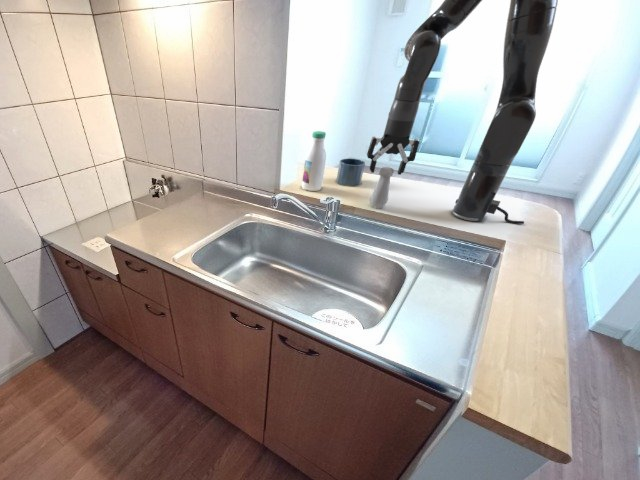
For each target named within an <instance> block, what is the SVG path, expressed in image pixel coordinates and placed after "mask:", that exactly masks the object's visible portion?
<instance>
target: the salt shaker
mask: <svg viewBox="0 0 640 480" xmlns="http://www.w3.org/2000/svg"><path fill="white" fill-rule="evenodd" d="M378 172H379V173H378V175H379V177H378V180H377V182H376V184H375V188H374V189H373V191H372V194H371V196H370V197H369V202H370V203H369V204H370V206H371V207H372V208H373V209H379V210H380V209H383V208H384V207H385V206H386V204H387V203H388V201H389V194H390V184H391V177H393V175H394V173H395V170H394V168H393V167H390V166H383V167H381V168H380V169H379V171H378Z"/></svg>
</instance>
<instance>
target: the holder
mask: <svg viewBox="0 0 640 480" xmlns="http://www.w3.org/2000/svg"><path fill="white" fill-rule="evenodd" d="M365 166H366V162H365V161H364V160H362V159H357V158H342V159H340V160H339V164H338V170H337V175H336V183H337V184H339V185H341V186H343V187H344V186H345V187H356V186H360V185H361V183H362V178H363V175H364V170H365Z"/></svg>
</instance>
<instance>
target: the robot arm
mask: <svg viewBox="0 0 640 480" xmlns="http://www.w3.org/2000/svg"><path fill="white" fill-rule="evenodd" d="M482 2H483V0H443V1H442V4H440V6H439V7H438V8H437V9H436V10H435V11H434V12H433V13H432V14H431V15H430V16H429V17H428V18H427V19H425V20H424V21H423V23H422V24H421V25H420V26H419V27H418V28H416V30H415V31H414V32H413V33H412V34H411V35H410V37H409V38H408V40H407V41H406V44H405V45H404V51H403V54H404V58H405V60H406V61H407V62H408V63H407V66H406V69H405V72H404V74H403V75H402V76H401V77H400V78H399V80H398V83H397V87H396V91H395V94H394V98H393V101H392V104H391V105H390V109H389V112H388V116H387V120H386V124H385V128H384V132H383V135H382V137H381V138H380V137H376V136H372V137H371V139H370V143H369V145H368V149H367V152H366V157H367V158H368V159H369V160H370V163H369V171H370V173H374V172H375V170H376V166H377V162H378V161H377V160H378V159H380V157H383V155H384V154H386V155H390V154H391V155H398V154H399V155H400V158H401V161H400V163H399V166H398V169H397V175H400V176H401V175H402V174H403V173H405V170H406V166H407V163H409V162H414V161H415V160H416V156H417V153H418V149H419V144H420V141H419V139H417V138H414V139H410V136H411V134H412V130H413V127H414V125H415V121H416V117H417V116H418V115H417V114H418V111H419V106H420V102H421V99H422V95H423V93H424V88H425V85H426V82H427V80H428V78H429V76H430V74H431V72H432V71H433V68H434V66H435V64H436V62H437V59H438V57H439V54H440V50H441V46H442V39H443V38H445V36H446V35H447V34H449V33H451V32H453V31H454V30H456V29H457V28H458V27H459V26H461V25H462V24H463V23H464V21H465V20H466V19H467V18H468V17H469V16H470V15H471V14H472V13H473V11H475V9H476V8H477V7H478V6H479V5H480V4H481V3H482ZM558 2H559V0H510V1H509V8H508V14H507V20H506V25H505V33H504V40H503V52H502V54H503V55H502V56H503V57H502V70H503V71H502V72H503V73H502V74H503V75H502V76H503V78H502V85H501V89H500V95H499V98H498V102H497V106H496V109H495V112H494V114H493V117H492V120H491V121H490V124H489V126H488V128H487V130H486V133H485V136H484V137H483V140H482V142H481V145H480V147H479V149H478V151H477V154H476V156H475V159H474V161H473V163H472V166H471V168H470V170H469V172H468V175H467V177H466V178H465V182H464V184H463V186H462V188H461V191H460V193H459V195H458V198H457V199H456V200H455V203H454V204H455V205H454V207H453V208H452V211H451V214H452V215H453V216H454V217H456V218H458V219H461V220H464V221H469V222H479V223H482V222H483V221H484V220H485V218H486V215H487V214H492V215H494V214H495V213H496V211H499V212H500V213H502V214H503V215H504V221H505V222H506V223H509V224H515V225H516V224H519V225H523V224H525V221H524V220H511V219H509V213H508V212H507V210H505V209H503V208H501V207H500V204H501V201H500V200H495V198H496V196H497V193H498V192H499V190H500V187H501V185H502V183H503V182H504V179H505V177H506V175H507V173H508V172H509V169H510V167H511V165H512V163H513V162H514V160H515V158H516V156H517V154H518V153H519V151H520V150H521V147H522V145H523V144H524V142H525V140H526V139H527V136H528V135H529V133H530V130H531V129H532V126H533V125H534V122H535V120H536V116H537V110H536V109H537V108H536V91H537V81H538V76H539V72H540V69H541V65H542V62H543V60H544V57H545V54H546V51H547V48H548V45H549V42H550V39H551V35H552V31H553V27H554V23H555V18H556V13H557V7H558V4H559V3H558ZM378 144H380V146H381V147H379V149H377V151H376V152H375V153H374V151H375V147H376V146H378ZM408 146H409V147H410V151H409V155H408V156H407V154H406V152H405V150H404V149H406V148H407V147H408Z"/></svg>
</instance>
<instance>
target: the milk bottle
mask: <svg viewBox="0 0 640 480" xmlns="http://www.w3.org/2000/svg"><path fill="white" fill-rule="evenodd" d="M326 135H327V134H326V131H320V130H315V131H313V132H312V135H311V136H312V137H311V143H310V146H309V148H308V150H307V151H306V153H305V159H304V164H303V172H302V180H301V188H302V189H303V190H305V191H309V192H317V191H320V190H321V189H322V187H323V181H324V175H325V168H326V161H327V152H326V147H325V140H326Z"/></svg>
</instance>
